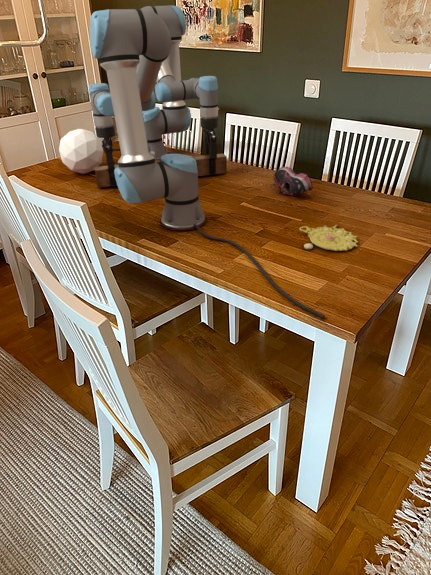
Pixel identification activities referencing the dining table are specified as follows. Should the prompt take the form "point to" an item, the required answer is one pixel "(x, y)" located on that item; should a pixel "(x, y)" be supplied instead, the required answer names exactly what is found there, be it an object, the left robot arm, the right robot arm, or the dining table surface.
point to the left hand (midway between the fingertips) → (210, 171)
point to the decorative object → (330, 238)
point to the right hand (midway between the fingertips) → (113, 182)
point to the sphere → (81, 151)
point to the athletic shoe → (292, 181)
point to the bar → (201, 161)
